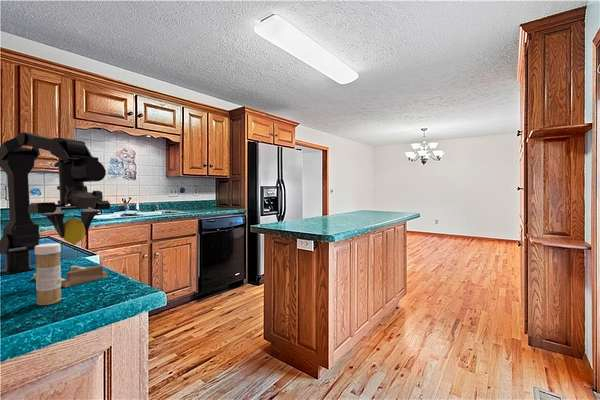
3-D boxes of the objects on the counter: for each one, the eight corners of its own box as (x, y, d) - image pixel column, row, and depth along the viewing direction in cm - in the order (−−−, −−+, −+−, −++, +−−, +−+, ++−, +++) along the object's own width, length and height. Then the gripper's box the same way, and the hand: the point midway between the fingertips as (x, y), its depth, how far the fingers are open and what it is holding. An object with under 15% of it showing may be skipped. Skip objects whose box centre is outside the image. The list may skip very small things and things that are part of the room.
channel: (33, 279, 88) (33, 267, 88) (75, 270, 98) (75, 259, 98) (65, 287, 80) (65, 274, 80) (107, 276, 90) (107, 265, 90)
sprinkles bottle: (46, 299, 72) (44, 242, 71) (66, 298, 72) (65, 242, 72) (30, 306, 67) (29, 246, 67) (52, 305, 67) (51, 246, 67)
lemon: (66, 244, 89) (65, 217, 89) (88, 242, 91) (87, 216, 91) (58, 247, 84) (57, 218, 84) (82, 245, 86) (81, 217, 86)
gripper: (47, 180, 75) (50, 242, 76) (120, 182, 92) (122, 233, 92) (26, 182, 80) (28, 240, 81) (99, 183, 97) (100, 231, 97)
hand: (73, 236), depth 88 cm, fingers closed on lemon, 6 cm apart
